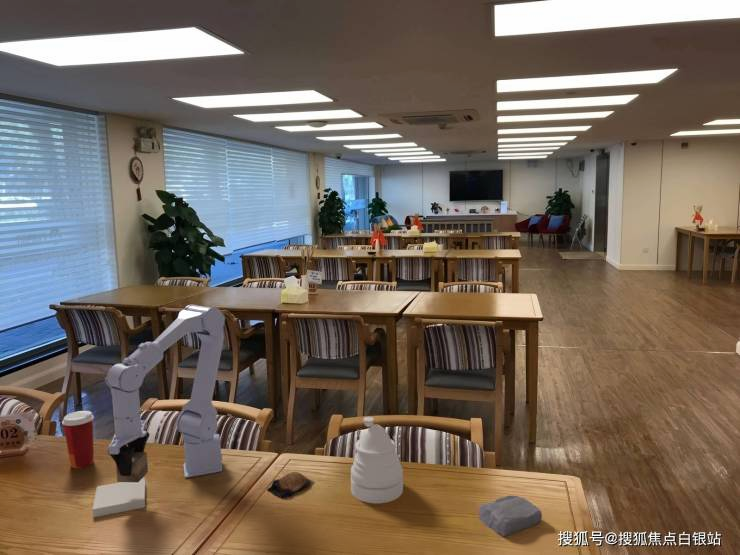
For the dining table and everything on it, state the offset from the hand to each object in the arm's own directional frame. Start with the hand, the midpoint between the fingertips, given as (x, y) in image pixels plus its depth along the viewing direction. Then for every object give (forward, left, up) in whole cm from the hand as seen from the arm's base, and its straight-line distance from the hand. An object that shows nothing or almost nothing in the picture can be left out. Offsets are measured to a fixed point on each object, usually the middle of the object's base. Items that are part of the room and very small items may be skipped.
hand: (131, 469), depth 132 cm
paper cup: (+14, -27, -9) cm, 32 cm away
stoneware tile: (+3, -2, -8) cm, 9 cm away
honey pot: (-56, +17, -9) cm, 59 cm away
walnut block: (0, 0, -2) cm, 2 cm away
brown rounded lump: (-37, +7, -9) cm, 38 cm away
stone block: (-78, +40, -9) cm, 88 cm away
